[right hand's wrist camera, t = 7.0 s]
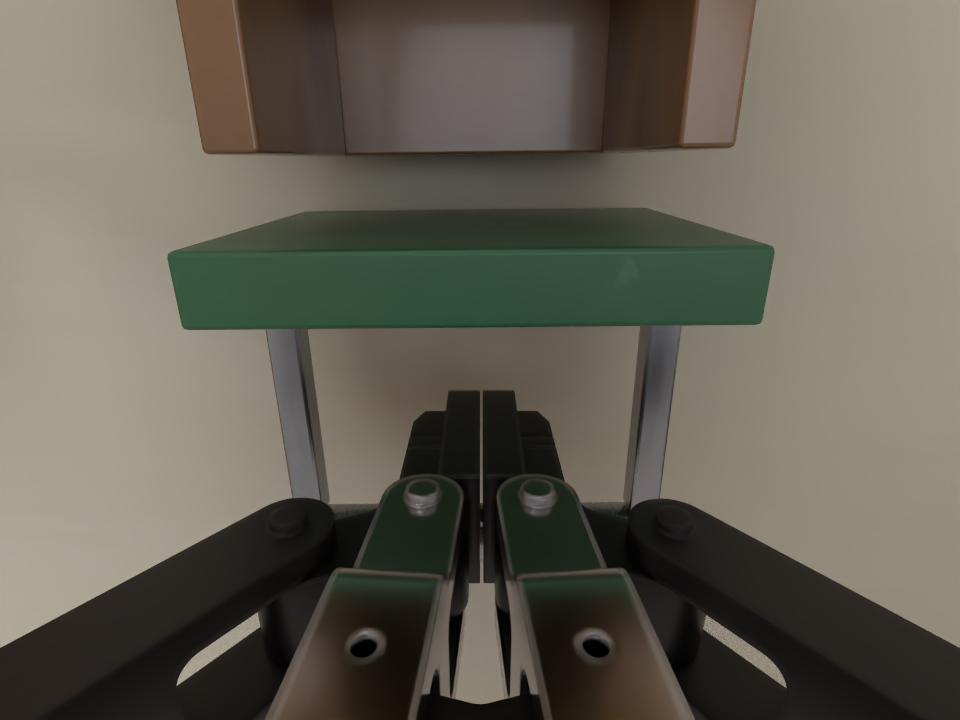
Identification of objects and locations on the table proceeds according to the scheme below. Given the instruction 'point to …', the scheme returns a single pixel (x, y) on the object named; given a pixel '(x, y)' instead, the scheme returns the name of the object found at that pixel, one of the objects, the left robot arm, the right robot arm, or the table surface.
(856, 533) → the table surface
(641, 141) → the drawer
